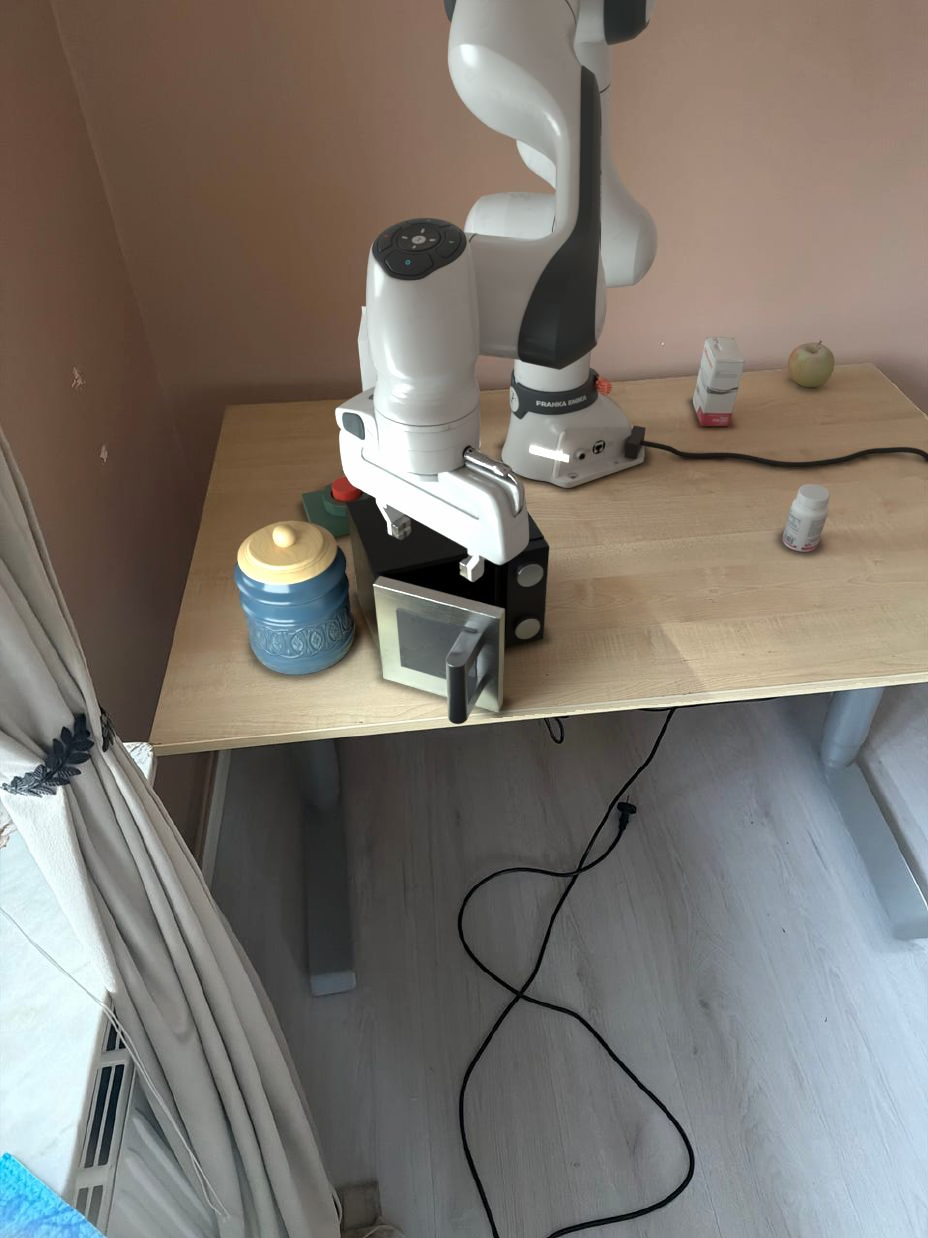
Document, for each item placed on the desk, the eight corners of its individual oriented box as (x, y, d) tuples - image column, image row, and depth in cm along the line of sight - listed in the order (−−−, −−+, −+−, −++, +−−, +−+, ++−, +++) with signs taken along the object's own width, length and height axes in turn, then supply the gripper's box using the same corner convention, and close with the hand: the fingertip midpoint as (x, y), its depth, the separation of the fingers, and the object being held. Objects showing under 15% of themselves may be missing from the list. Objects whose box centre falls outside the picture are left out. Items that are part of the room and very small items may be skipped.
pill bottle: (818, 535, 126) (834, 485, 120) (816, 555, 123) (832, 505, 117) (783, 529, 127) (797, 479, 121) (780, 549, 124) (795, 498, 118)
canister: (362, 668, 108) (347, 553, 96) (253, 685, 106) (224, 571, 94) (349, 598, 117) (334, 486, 105) (249, 613, 115) (222, 500, 103)
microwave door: (479, 748, 99) (479, 654, 89) (361, 711, 103) (348, 617, 93) (502, 703, 103) (505, 608, 93) (389, 669, 108) (379, 575, 98)
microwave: (545, 644, 111) (552, 548, 100) (389, 682, 106) (379, 586, 96) (500, 564, 122) (502, 471, 112) (357, 596, 118) (345, 502, 108)
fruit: (826, 375, 160) (839, 332, 155) (829, 394, 155) (841, 351, 149) (782, 370, 161) (793, 328, 156) (783, 390, 156) (794, 347, 151)
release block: (381, 490, 135) (379, 468, 133) (397, 524, 129) (395, 501, 126) (303, 505, 133) (299, 483, 130) (315, 541, 127) (311, 518, 124)
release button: (357, 484, 130) (356, 474, 129) (363, 499, 128) (362, 489, 126) (330, 489, 130) (329, 479, 128) (336, 504, 127) (335, 494, 125)
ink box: (731, 427, 147) (746, 360, 139) (700, 427, 148) (713, 360, 139) (721, 400, 154) (734, 335, 146) (691, 401, 154) (703, 335, 146)
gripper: (548, 457, 73) (541, 584, 82) (372, 376, 83) (384, 498, 92) (498, 491, 69) (496, 621, 79) (321, 403, 79) (339, 527, 89)
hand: (435, 554), depth 86 cm, fingers open, 8 cm apart
